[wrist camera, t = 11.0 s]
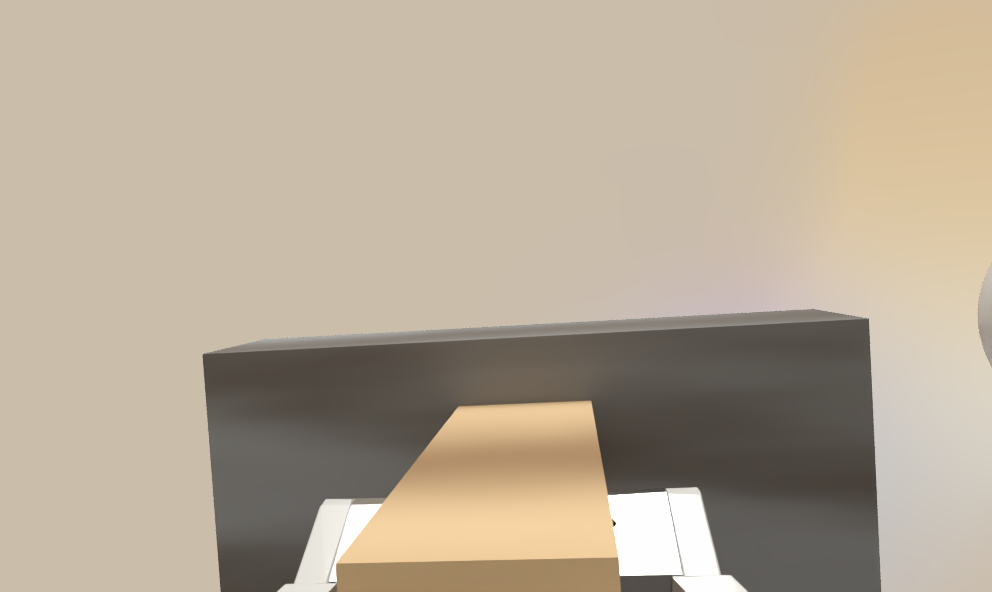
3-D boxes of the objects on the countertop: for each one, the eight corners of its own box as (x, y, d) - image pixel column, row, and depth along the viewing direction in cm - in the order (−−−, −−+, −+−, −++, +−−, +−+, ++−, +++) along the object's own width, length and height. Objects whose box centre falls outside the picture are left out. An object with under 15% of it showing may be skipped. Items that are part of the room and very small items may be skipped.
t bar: (280, 547, 21) (264, 339, 20) (823, 534, 19) (813, 309, 19) (-135, 951, 8) (-182, 445, 8) (1274, 1003, 7) (1256, 385, 7)
